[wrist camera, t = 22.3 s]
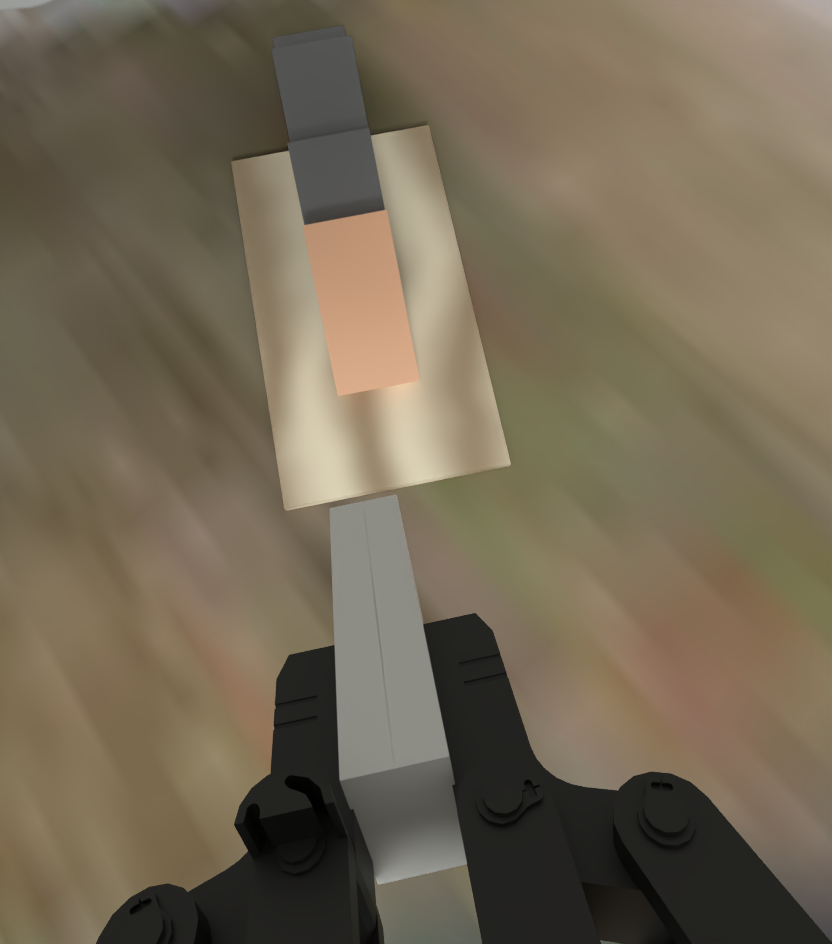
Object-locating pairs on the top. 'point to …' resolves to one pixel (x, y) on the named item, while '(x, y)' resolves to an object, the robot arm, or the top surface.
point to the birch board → (307, 357)
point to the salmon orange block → (361, 302)
